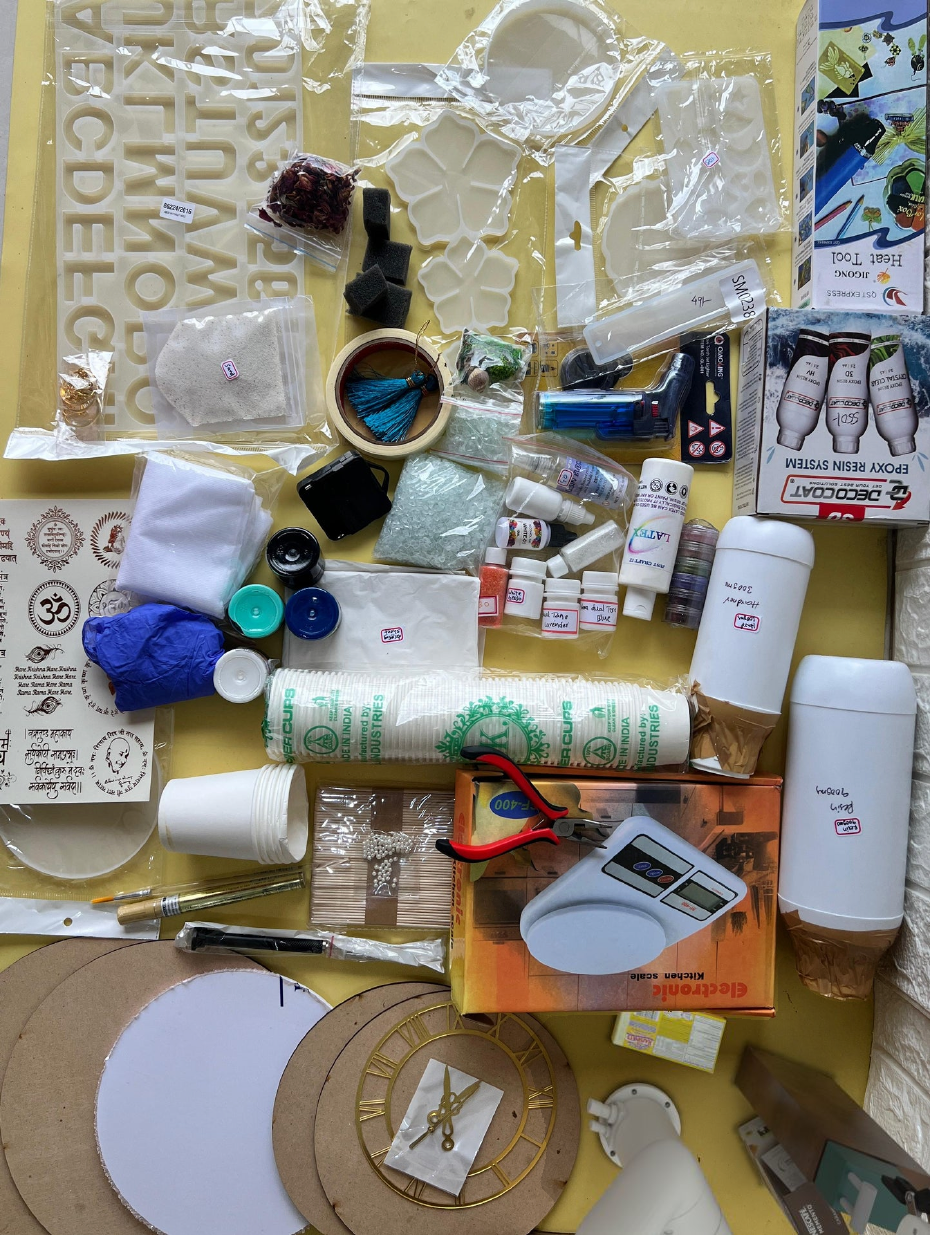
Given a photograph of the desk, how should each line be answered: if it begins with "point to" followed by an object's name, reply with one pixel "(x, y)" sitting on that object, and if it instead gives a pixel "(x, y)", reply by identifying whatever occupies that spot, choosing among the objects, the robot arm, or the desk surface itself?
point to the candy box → (672, 1036)
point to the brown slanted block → (816, 1116)
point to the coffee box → (790, 1184)
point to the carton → (859, 1188)
